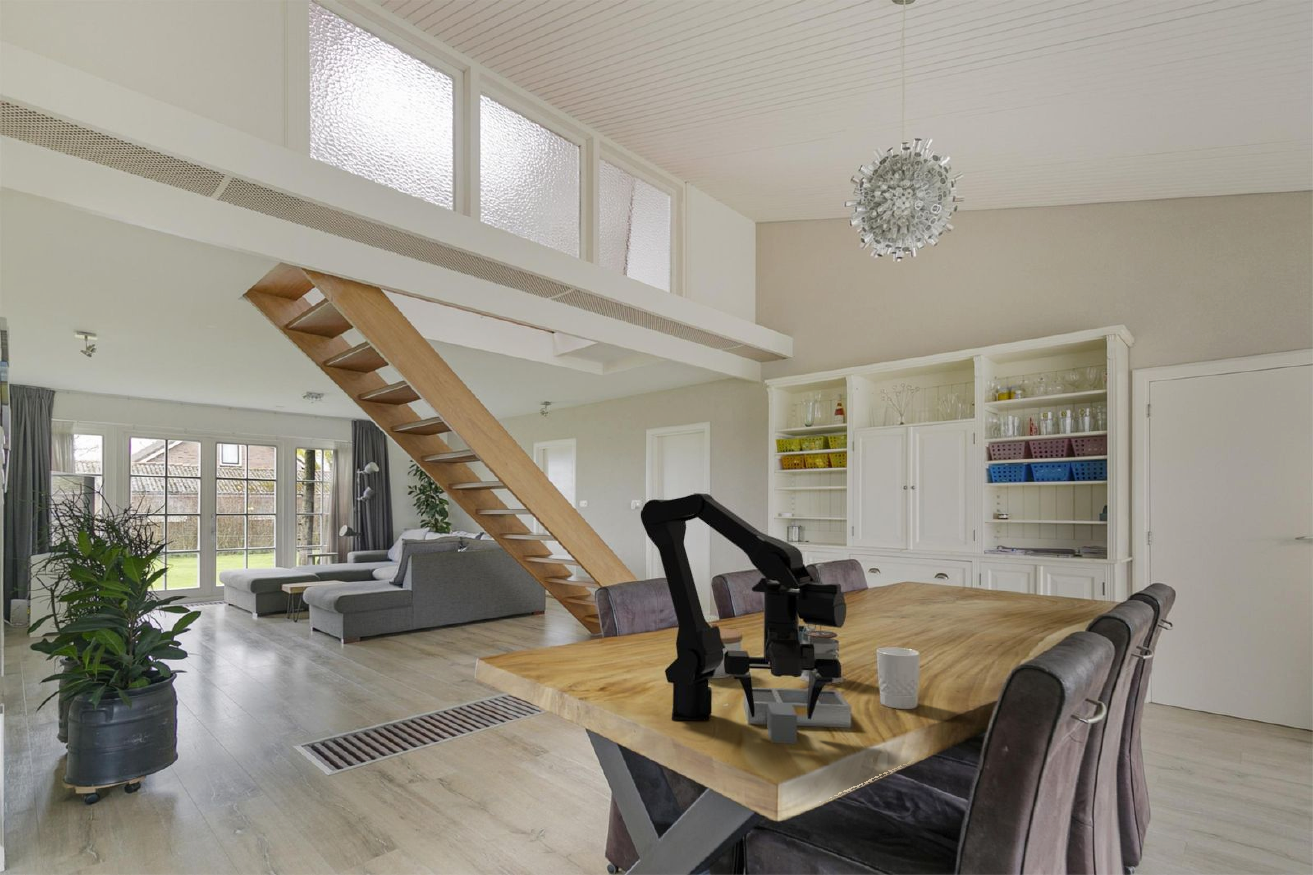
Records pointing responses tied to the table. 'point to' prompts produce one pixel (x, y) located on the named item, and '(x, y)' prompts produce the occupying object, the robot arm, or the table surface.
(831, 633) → the french press
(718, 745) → the table surface
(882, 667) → the white cup
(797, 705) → the rack
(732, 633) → the lidded bowl
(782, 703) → the grey upright box
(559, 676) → the table surface
